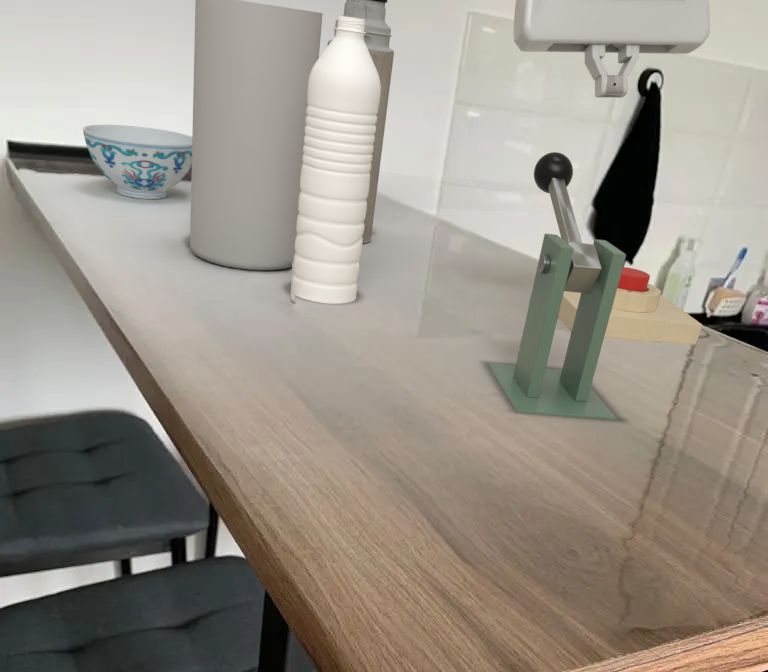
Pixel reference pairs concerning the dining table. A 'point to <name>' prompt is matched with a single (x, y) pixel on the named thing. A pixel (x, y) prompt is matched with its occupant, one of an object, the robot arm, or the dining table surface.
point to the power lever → (568, 221)
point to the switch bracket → (573, 383)
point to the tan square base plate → (640, 317)
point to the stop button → (633, 280)
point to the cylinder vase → (249, 130)
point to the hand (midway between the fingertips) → (611, 96)
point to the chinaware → (139, 158)
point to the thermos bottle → (370, 6)
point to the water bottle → (336, 167)
